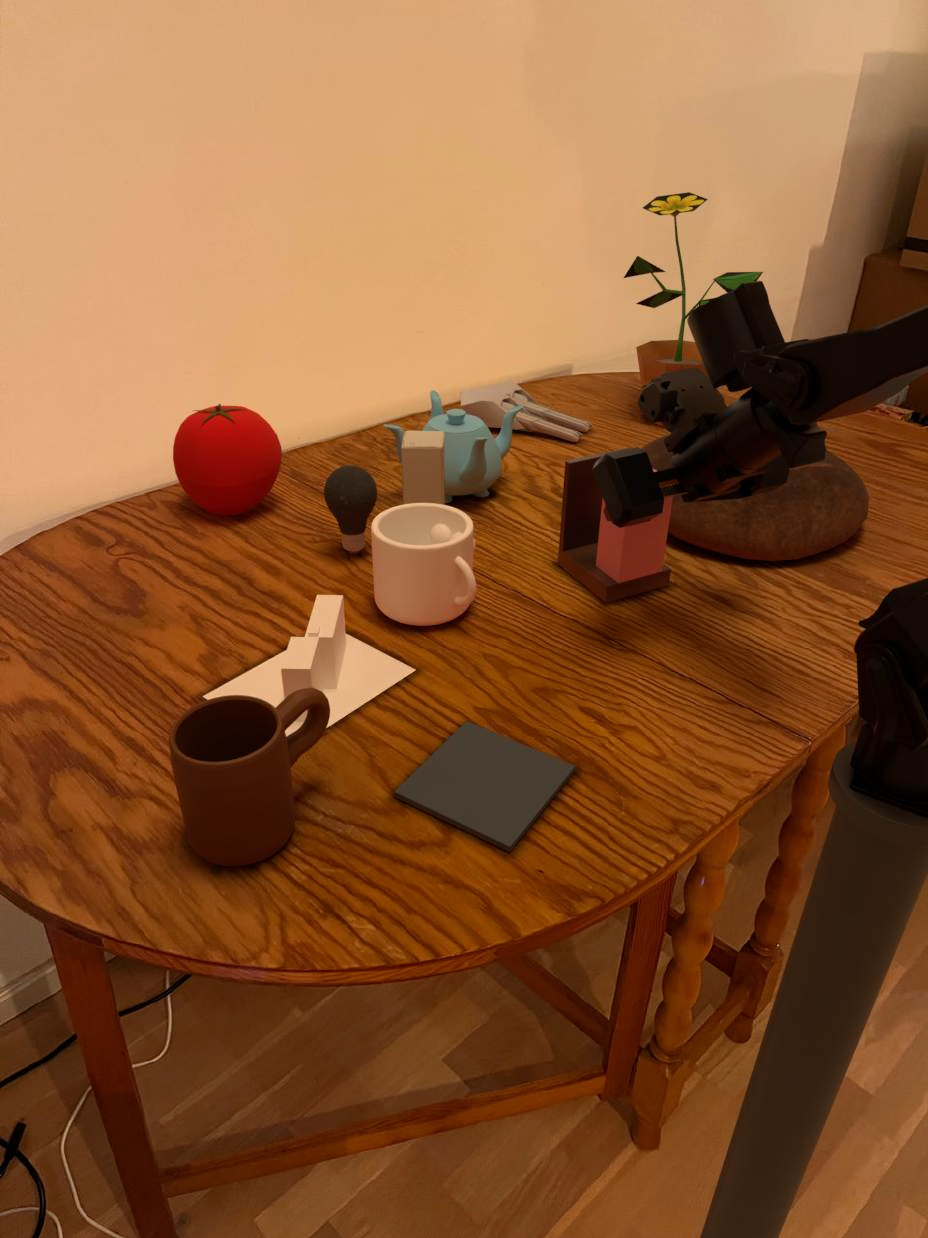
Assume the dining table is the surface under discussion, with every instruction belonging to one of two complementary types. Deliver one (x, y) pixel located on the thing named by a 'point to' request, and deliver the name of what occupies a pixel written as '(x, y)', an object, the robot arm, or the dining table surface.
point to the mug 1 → (242, 772)
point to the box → (423, 467)
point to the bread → (773, 512)
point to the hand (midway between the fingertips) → (645, 506)
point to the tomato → (226, 458)
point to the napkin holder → (321, 667)
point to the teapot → (466, 448)
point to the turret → (503, 396)
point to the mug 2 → (423, 563)
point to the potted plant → (675, 352)
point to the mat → (486, 784)
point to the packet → (633, 546)
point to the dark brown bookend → (592, 536)
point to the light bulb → (351, 503)
